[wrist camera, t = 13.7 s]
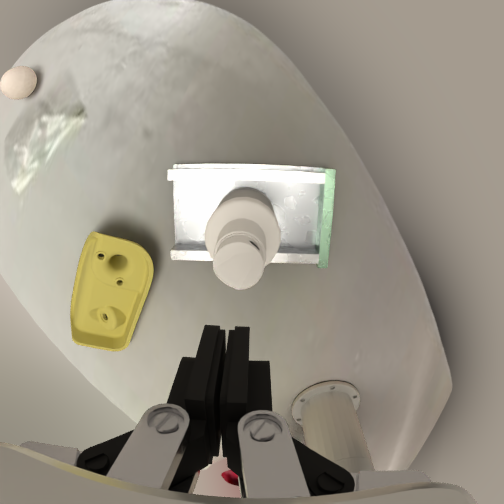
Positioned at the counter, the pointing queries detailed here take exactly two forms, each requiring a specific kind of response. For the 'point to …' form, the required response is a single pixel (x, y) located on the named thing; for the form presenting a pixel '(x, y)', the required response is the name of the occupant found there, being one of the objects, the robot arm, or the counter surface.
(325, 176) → the rail cradle
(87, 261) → the plastic component
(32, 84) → the egg
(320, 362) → the counter surface
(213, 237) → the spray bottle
